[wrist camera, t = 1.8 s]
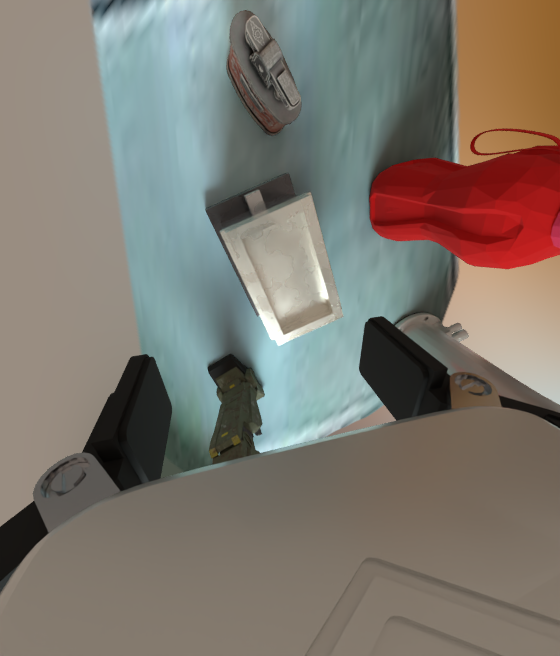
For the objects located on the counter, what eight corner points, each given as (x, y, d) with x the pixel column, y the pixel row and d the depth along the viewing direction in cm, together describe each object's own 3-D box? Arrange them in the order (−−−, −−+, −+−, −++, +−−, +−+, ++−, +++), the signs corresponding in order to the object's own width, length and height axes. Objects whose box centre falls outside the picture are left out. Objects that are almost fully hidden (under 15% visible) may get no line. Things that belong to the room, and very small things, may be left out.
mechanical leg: (187, 360, 42) (212, 630, 21) (224, 338, 41) (289, 591, 20) (232, 394, 52) (280, 600, 31) (263, 376, 51) (333, 574, 30)
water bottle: (428, 140, 34) (772, 71, 13) (421, 224, 40) (654, 272, 19) (364, 156, 34) (618, 111, 12) (367, 240, 39) (544, 308, 18)
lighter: (218, 68, 27) (220, 15, 18) (242, 41, 26) (256, -26, 18) (268, 143, 31) (288, 128, 22) (289, 121, 30) (318, 97, 22)
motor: (284, 173, 33) (322, 168, 21) (318, 282, 41) (358, 321, 30) (205, 208, 33) (200, 222, 21) (255, 310, 41) (270, 360, 30)
